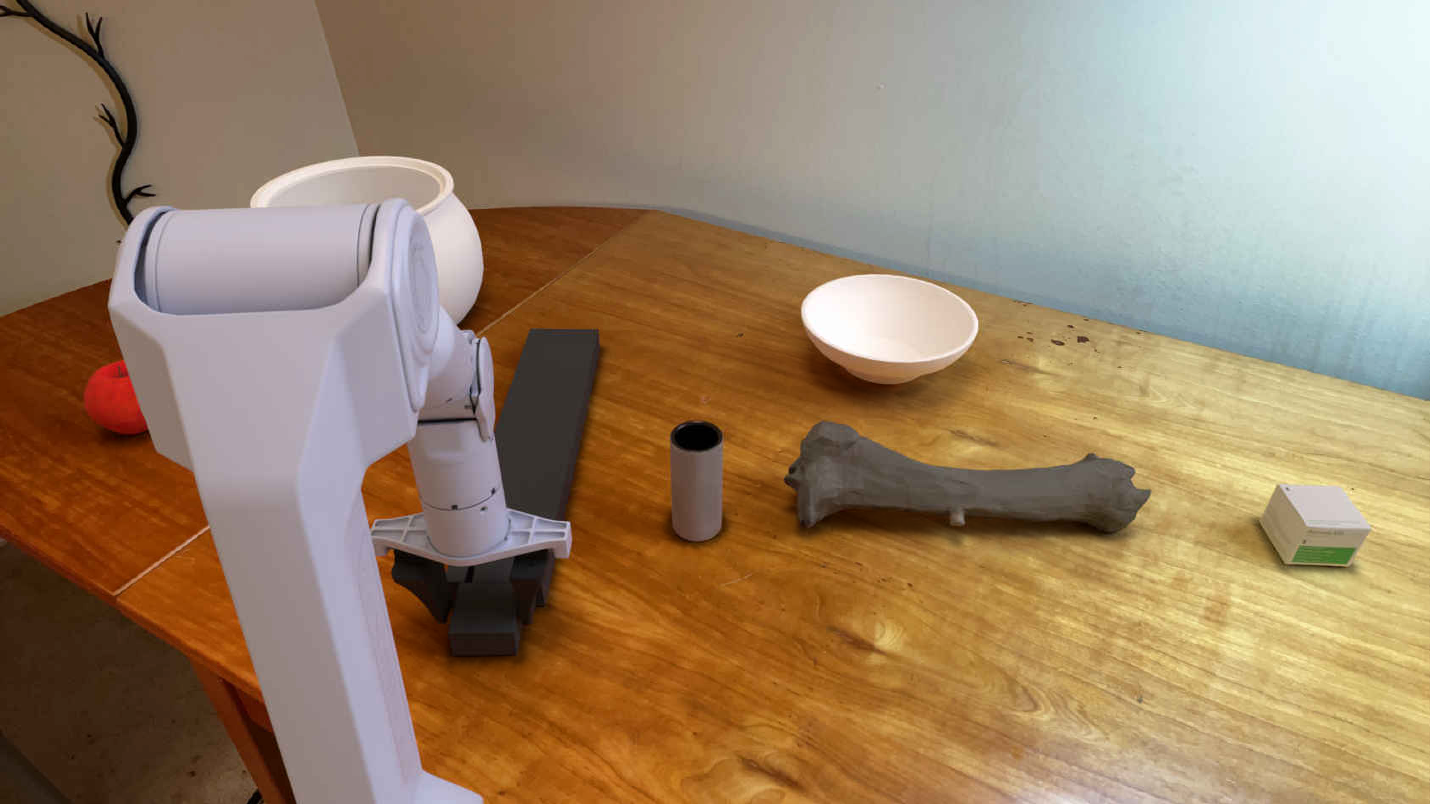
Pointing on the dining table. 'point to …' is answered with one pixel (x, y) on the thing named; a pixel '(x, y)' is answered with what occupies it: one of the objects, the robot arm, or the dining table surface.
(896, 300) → the bowl
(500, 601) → the pad
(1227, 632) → the dining table surface
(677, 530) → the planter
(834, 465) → the bone
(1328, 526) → the small box
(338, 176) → the pot
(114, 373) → the apple
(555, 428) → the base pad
